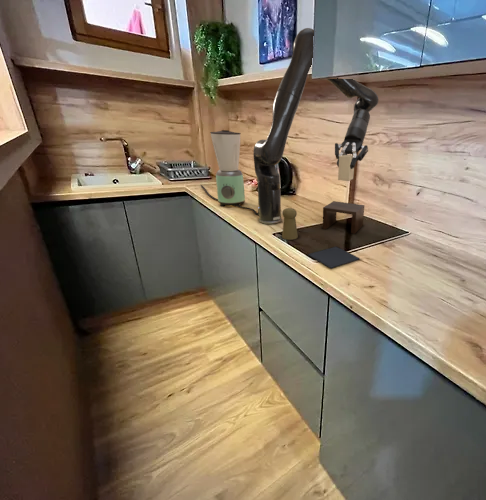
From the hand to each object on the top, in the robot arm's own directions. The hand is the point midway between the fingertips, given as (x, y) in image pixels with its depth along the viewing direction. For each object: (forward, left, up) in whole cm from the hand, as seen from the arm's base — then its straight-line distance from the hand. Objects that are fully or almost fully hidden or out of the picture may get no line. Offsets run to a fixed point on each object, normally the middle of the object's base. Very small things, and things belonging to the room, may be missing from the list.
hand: (344, 166), depth 117 cm
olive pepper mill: (-3, -23, -25) cm, 34 cm away
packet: (-1, +2, -5) cm, 6 cm away
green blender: (-60, -22, -25) cm, 69 cm away
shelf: (-1, +2, -25) cm, 25 cm away
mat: (+21, -21, -25) cm, 39 cm away
